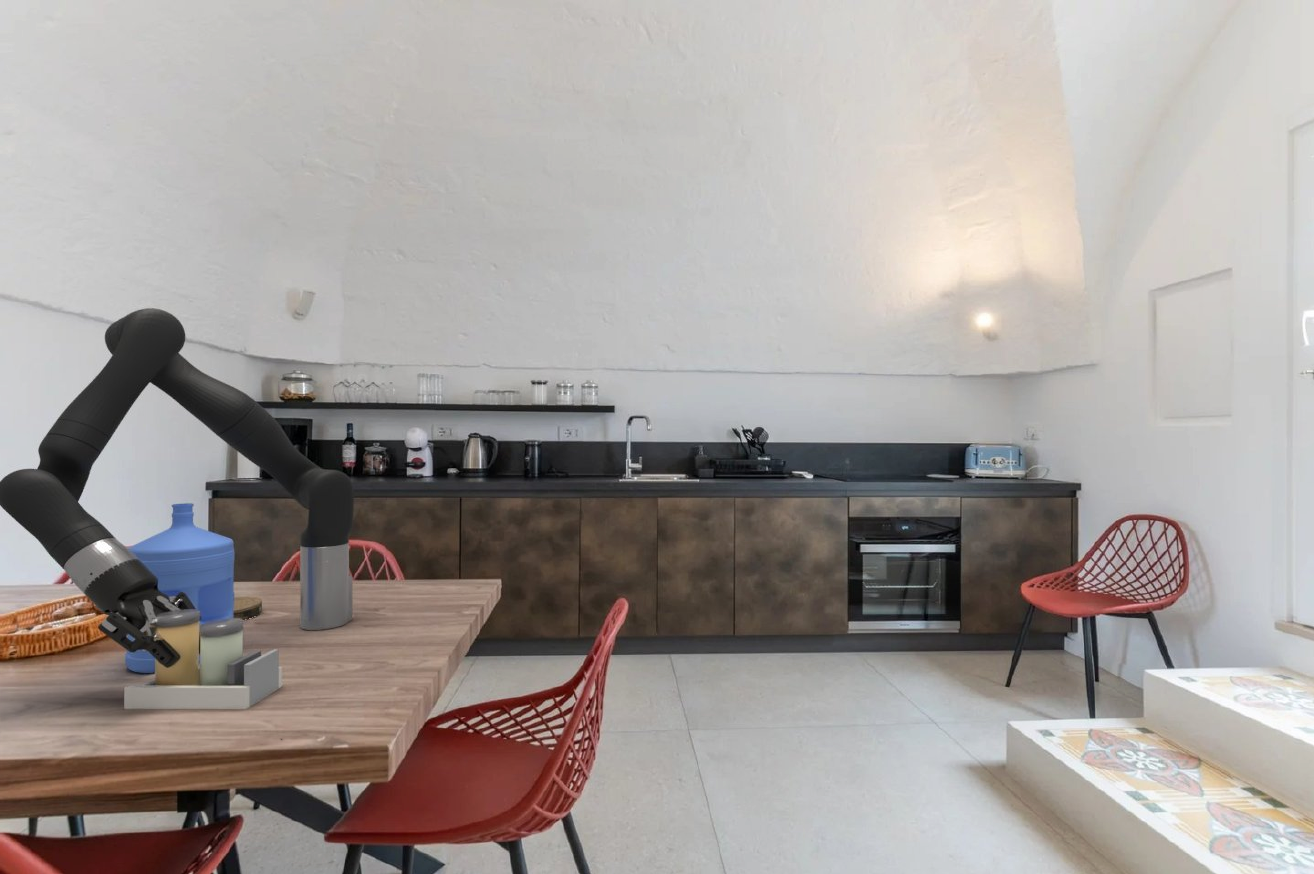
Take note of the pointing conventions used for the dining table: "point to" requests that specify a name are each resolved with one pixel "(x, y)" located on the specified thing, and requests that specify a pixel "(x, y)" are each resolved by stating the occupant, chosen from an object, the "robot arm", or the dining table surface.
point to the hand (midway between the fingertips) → (189, 655)
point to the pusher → (239, 669)
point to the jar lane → (211, 690)
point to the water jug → (188, 572)
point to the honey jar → (179, 647)
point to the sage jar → (219, 649)
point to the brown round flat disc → (246, 607)
